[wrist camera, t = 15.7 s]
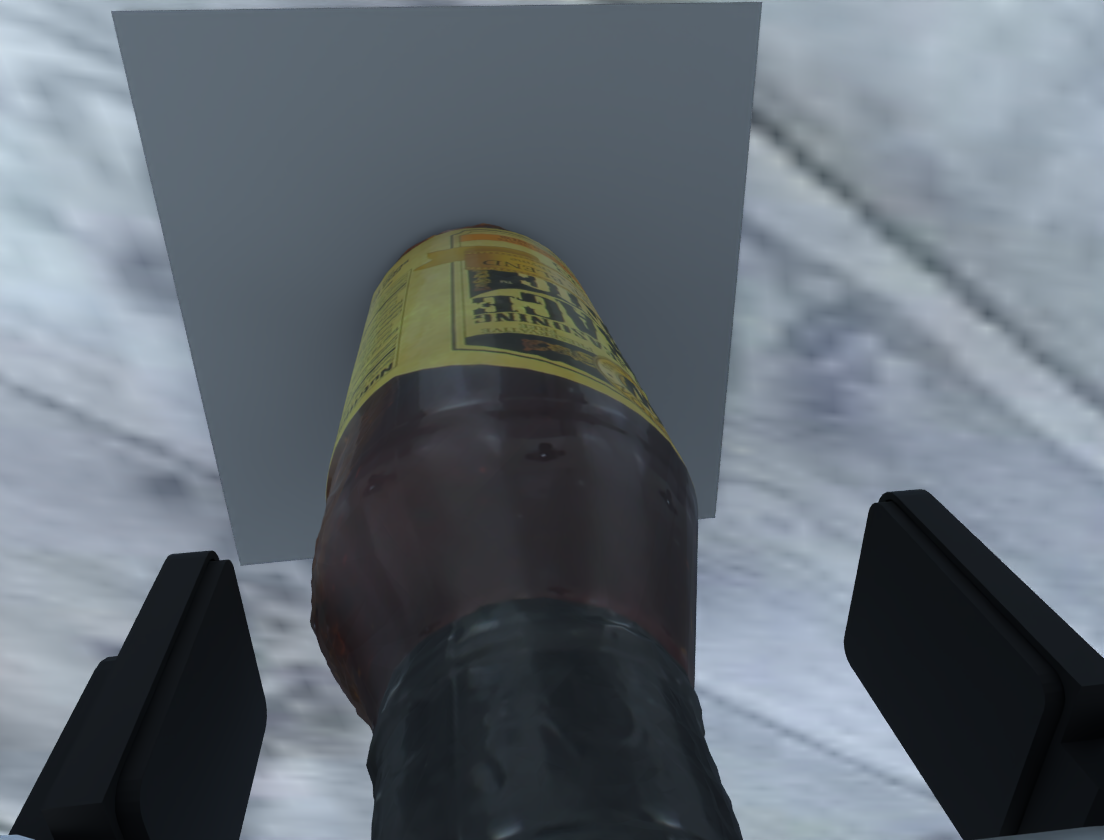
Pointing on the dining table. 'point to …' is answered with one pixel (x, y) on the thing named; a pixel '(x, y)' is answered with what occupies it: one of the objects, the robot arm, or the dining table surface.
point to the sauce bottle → (512, 564)
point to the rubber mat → (435, 201)
